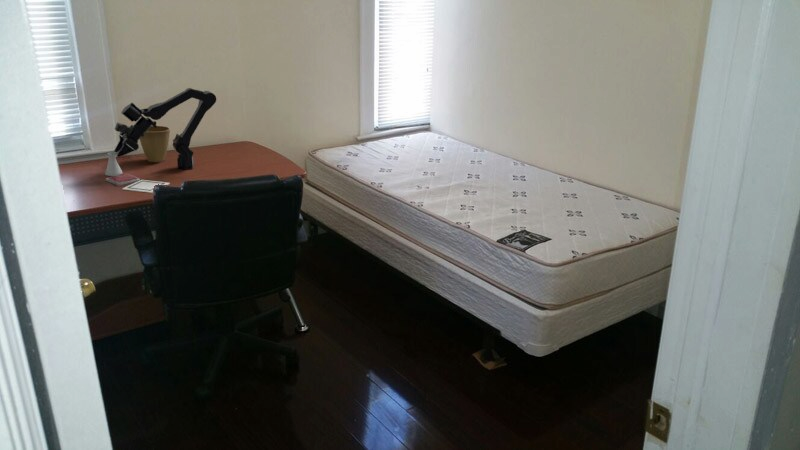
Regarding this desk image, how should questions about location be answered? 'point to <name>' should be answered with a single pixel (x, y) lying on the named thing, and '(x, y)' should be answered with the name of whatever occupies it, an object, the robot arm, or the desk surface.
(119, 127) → the robot arm
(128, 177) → the ink pad
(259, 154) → the desk surface
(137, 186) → the marked board
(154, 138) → the plant pot
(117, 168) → the flask
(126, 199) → the desk surface
